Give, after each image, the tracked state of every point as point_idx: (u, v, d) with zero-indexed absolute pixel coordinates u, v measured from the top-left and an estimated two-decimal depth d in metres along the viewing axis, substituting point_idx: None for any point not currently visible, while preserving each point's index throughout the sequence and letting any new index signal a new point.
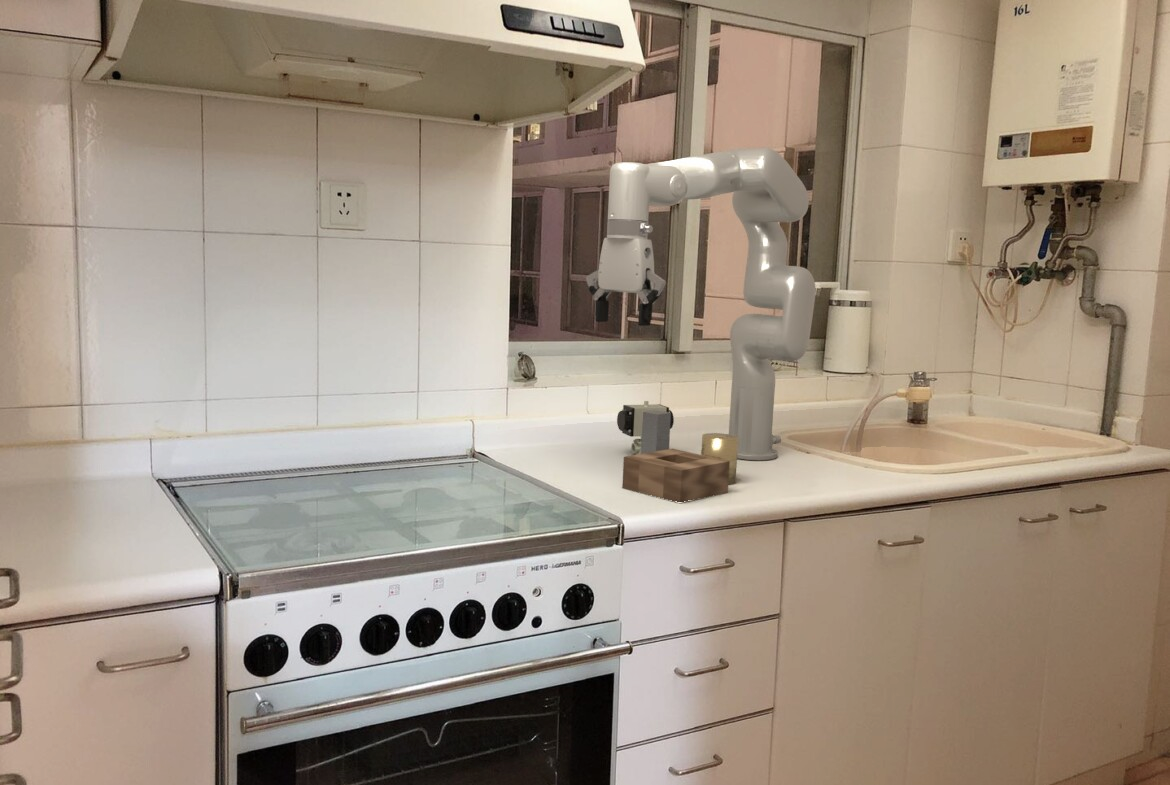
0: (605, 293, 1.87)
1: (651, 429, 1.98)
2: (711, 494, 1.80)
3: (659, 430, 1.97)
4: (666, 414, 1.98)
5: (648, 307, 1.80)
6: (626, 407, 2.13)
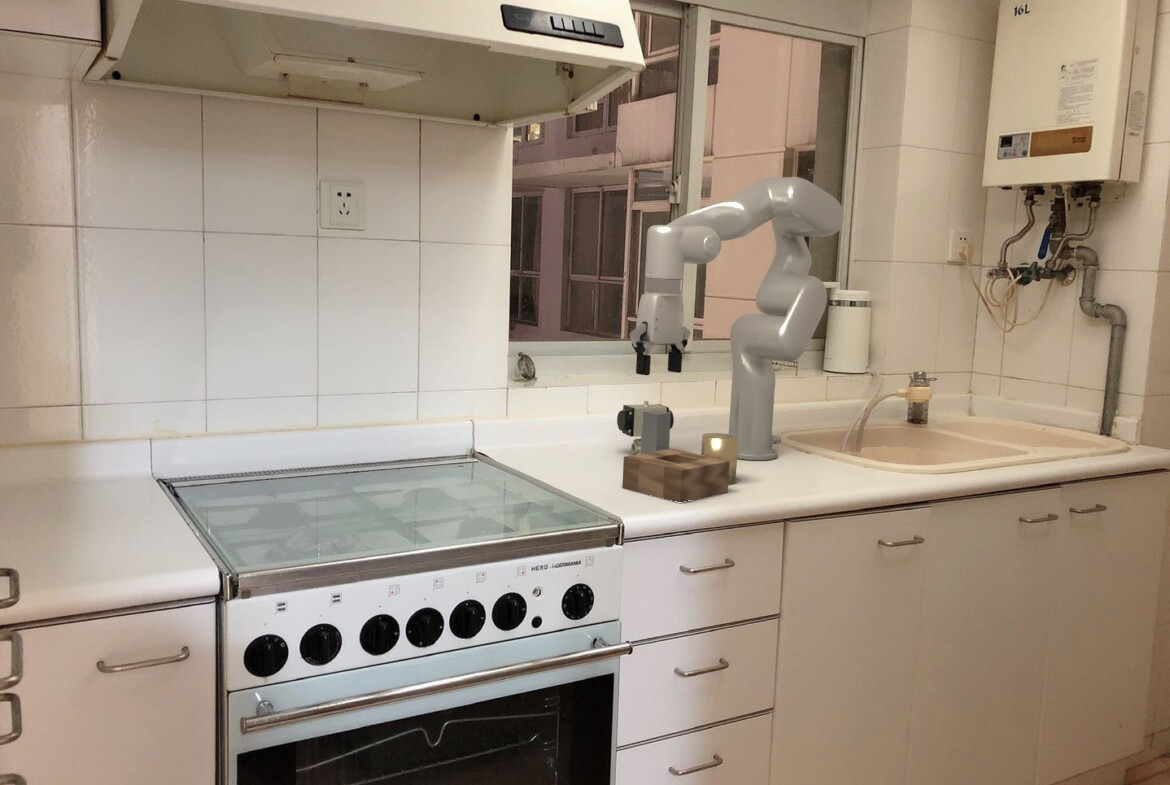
0: None
1: (651, 429, 1.98)
2: (711, 494, 1.80)
3: (659, 430, 1.97)
4: (666, 414, 1.98)
5: None
6: (626, 407, 2.13)
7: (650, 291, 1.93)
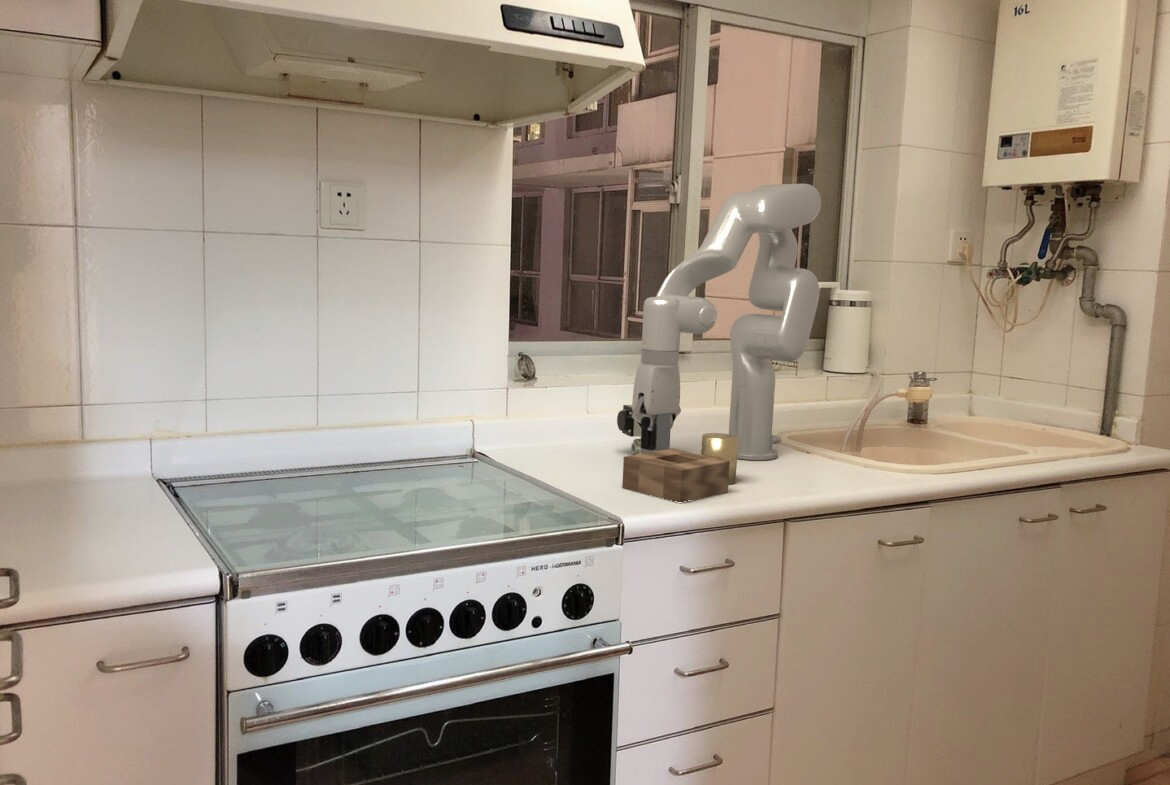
0: None
1: None
2: (711, 494, 1.80)
3: (659, 430, 1.97)
4: (666, 414, 1.98)
5: None
6: (626, 407, 2.13)
7: (646, 363, 1.95)
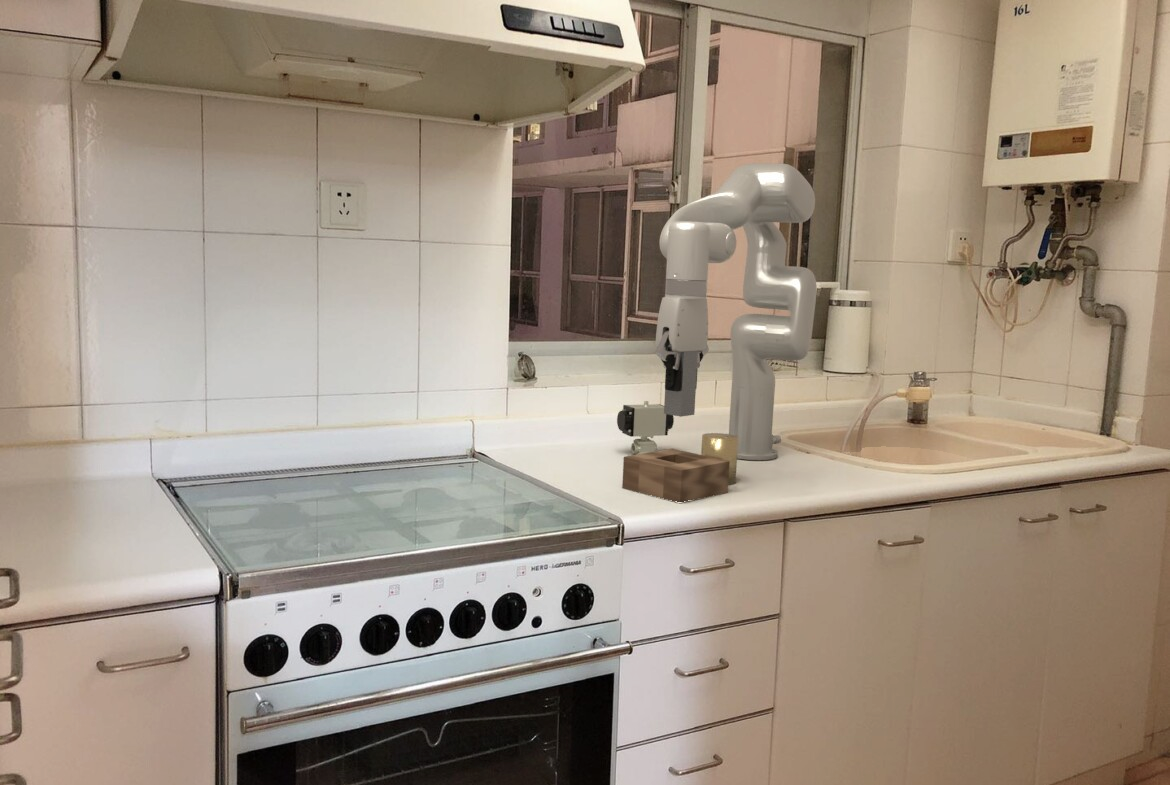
0: None
1: None
2: (711, 494, 1.80)
3: (685, 369, 1.79)
4: (693, 351, 1.80)
5: None
6: (626, 407, 2.13)
7: (672, 294, 1.76)
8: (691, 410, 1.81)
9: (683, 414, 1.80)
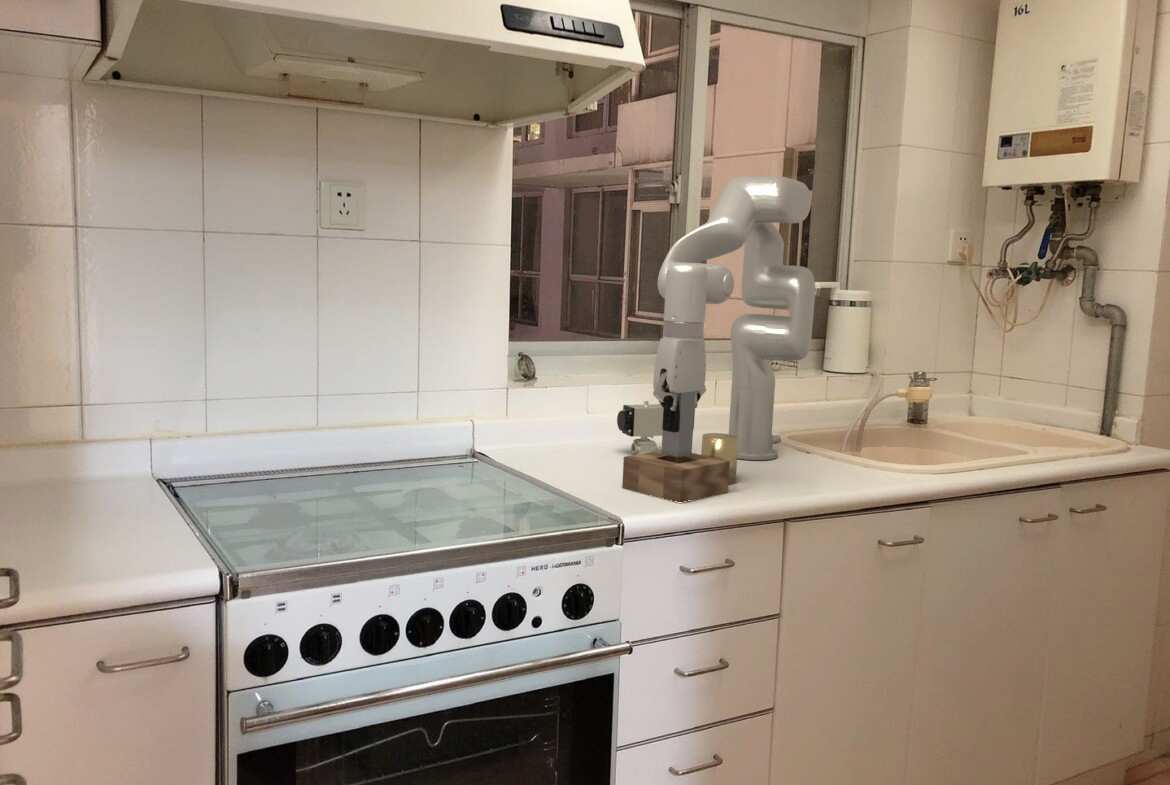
0: None
1: None
2: (711, 494, 1.80)
3: (682, 410, 1.79)
4: (690, 392, 1.80)
5: None
6: (626, 407, 2.13)
7: (669, 335, 1.77)
8: (688, 450, 1.82)
9: (680, 455, 1.81)
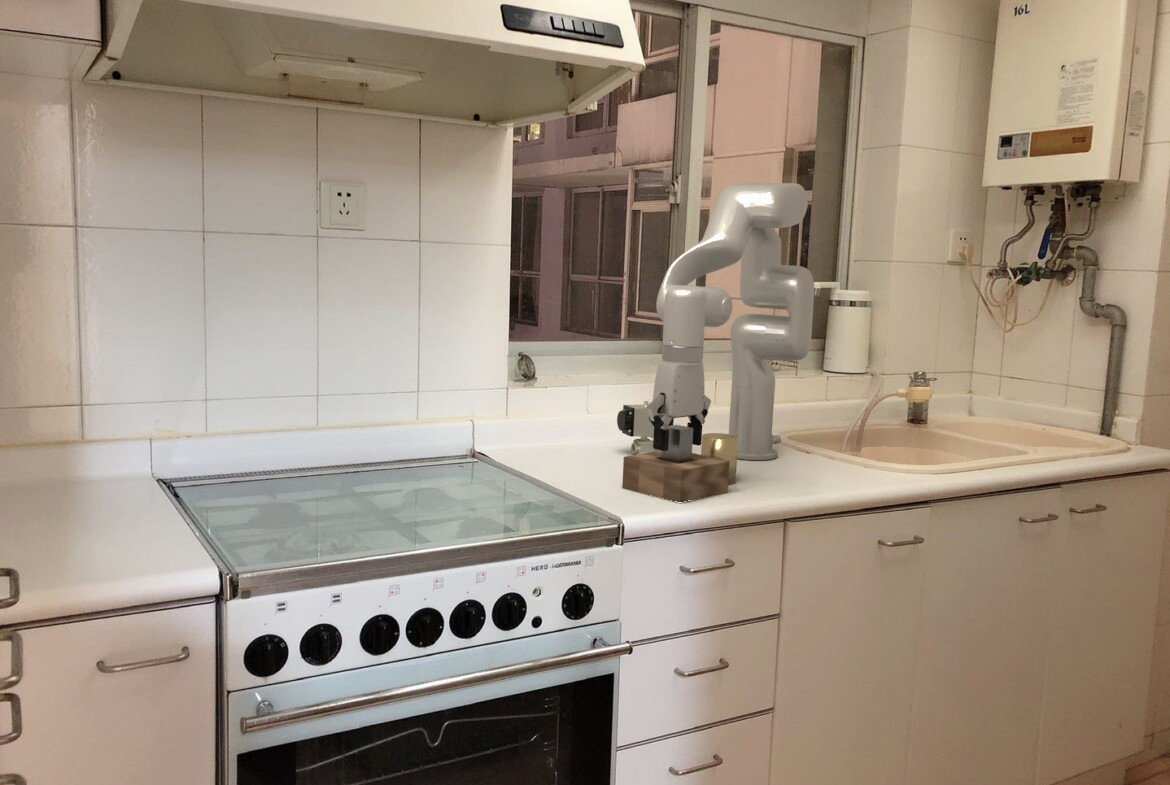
0: None
1: (672, 446, 1.81)
2: (711, 494, 1.80)
3: (681, 447, 1.81)
4: (688, 429, 1.82)
5: None
6: (626, 407, 2.13)
7: (668, 360, 1.78)
8: None
9: None
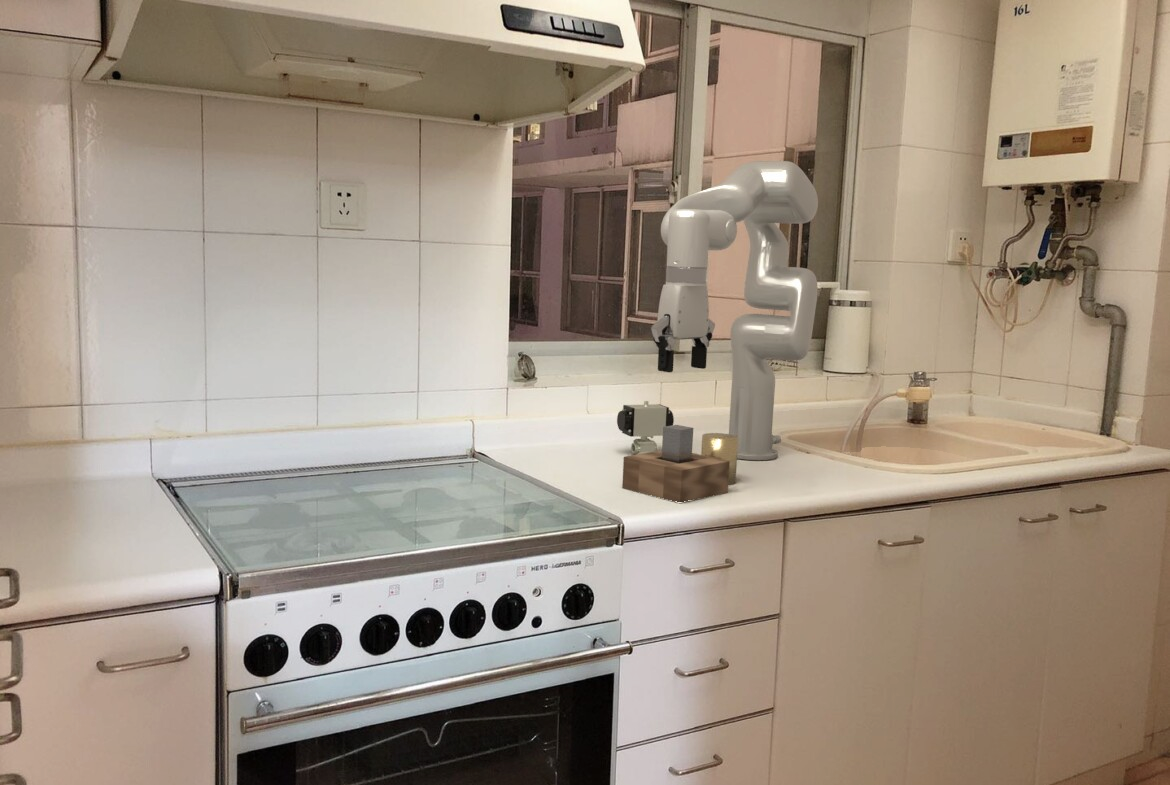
0: None
1: (673, 446, 1.81)
2: (711, 494, 1.80)
3: (681, 447, 1.81)
4: (689, 429, 1.82)
5: None
6: (626, 407, 2.13)
7: (673, 281, 1.78)
8: None
9: None
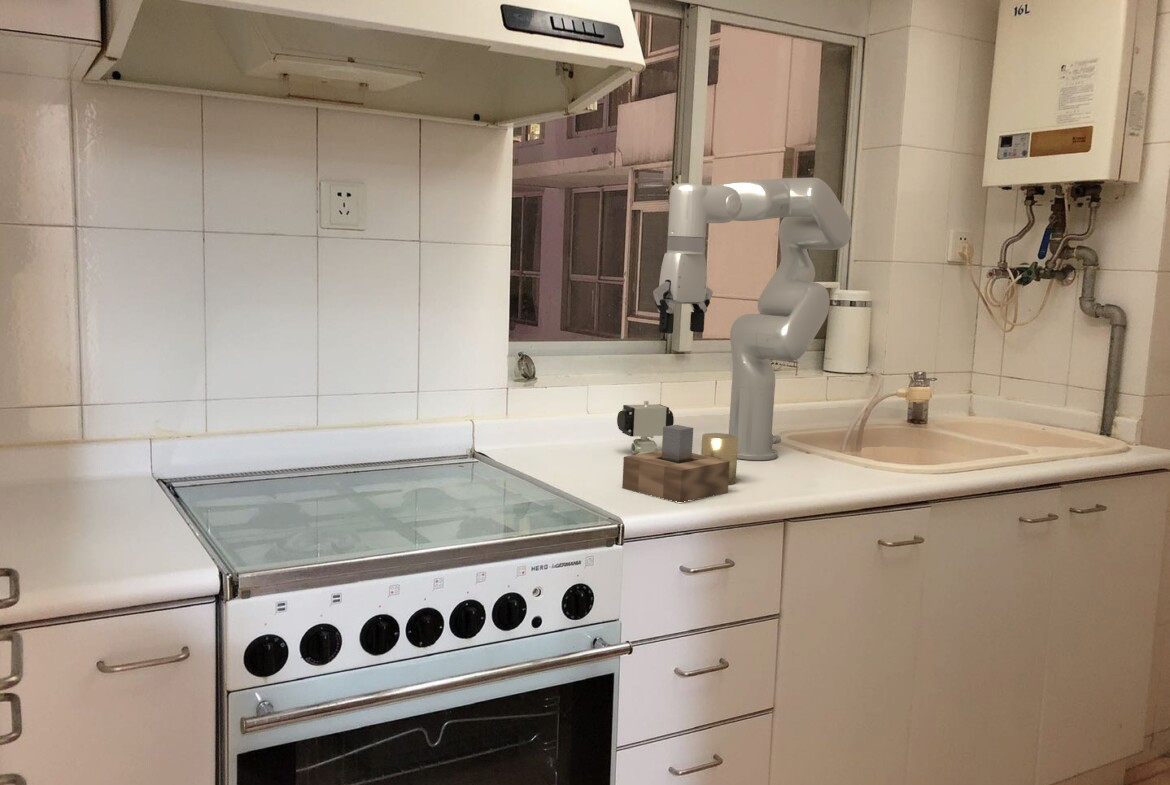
0: None
1: (673, 446, 1.81)
2: (711, 494, 1.80)
3: (681, 447, 1.81)
4: (689, 429, 1.82)
5: None
6: (626, 407, 2.13)
7: (673, 249, 1.93)
8: None
9: None
